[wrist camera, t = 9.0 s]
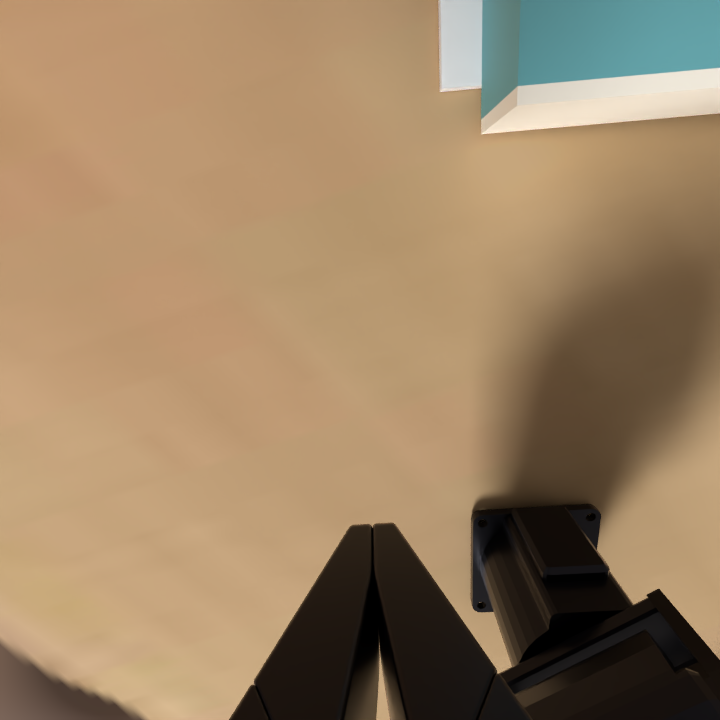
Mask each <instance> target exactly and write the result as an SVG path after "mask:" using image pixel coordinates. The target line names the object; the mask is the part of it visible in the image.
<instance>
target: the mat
mask: <svg viewBox="0 0 720 720" xmlns="http://www.w3.org/2000/svg"><path fill="white" fill-rule="evenodd" d="M438 14H439V77H440V92H445V91H456V90H467V89H478V88H482V0H438Z"/></svg>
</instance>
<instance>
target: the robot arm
mask: <svg viewBox="0 0 720 720" xmlns="http://www.w3.org/2000/svg"><path fill="white" fill-rule="evenodd" d="M590 513H591V515H589V516H587V515H588V514H590ZM482 519H484V521H483V522H479V521H480V520H482ZM600 519H601V514H600V512H599V511H598V510H597V509H596V507H595V506H593V505H591V504H581V505H564V506H546V507H529V508H512V509H494V510H480V511H476V512H475V513H474V514H473V515H472V517H471V603H472V606H473V609H474V610H475V611H477V612H494V614H495V617H496V620H497V623H498V626H499V629H500V632H501V635H502V638H503V641H504V643H505V646H506V649H507V652H508V655H509V658H510V661H511V664H512V667H511V668H509V669H507V670H505V671H503V672H501V673H499V674H497V670H496V668H495V666H494V665H493V664H492V662H491V661H490V659H489V658H488V656H487V655H486V654H485V652H484V651H483V649H482V648H481V646H480V645H479V644H478V642H477V641H476V639H475V638H474V636H473V635H472V634H471V632H470V631H469V629H468V628H467V626H466V625H465V624H464V622H463V621H462V619H461V618H460V616H459V615H458V613H457V612H456V611H455V609H454V608H453V606H452V605H451V603H450V602H449V601H448V599H447V598H446V596H445V595H444V593H443V592H442V591H441V589H440V588H439V586H438V585H437V583H436V582H435V581H434V579H433V578H432V576H431V575H430V573H429V572H428V571H427V569H426V568H425V566H424V565H423V563H422V562H421V560H420V559H419V558H418V556H417V555H416V553H415V552H414V550H413V549H412V548H411V546H410V545H409V543H408V542H407V540H406V539H405V538H404V536H403V535H402V533H401V532H400V530H399V529H398V528H397V526H396V525H395V524H394V523H377V524H374V525H373V528H372V526H371V525H370V524H360V525H352V526H350V527H349V529H348V530H347V532H346V534H345V535H344V537H343V538H342V540H341V542H340V543H339V545H338V546H337V548H336V550H335V551H334V553H333V554H332V556H331V558H330V559H329V561H328V562H327V564H326V566H325V567H324V569H323V570H322V572H321V574H320V575H319V577H318V578H317V580H316V582H315V583H314V585H313V586H312V588H311V590H310V591H309V593H308V594H307V596H306V598H305V599H304V601H303V603H302V604H301V606H300V607H299V609H298V611H297V612H296V614H295V615H294V617H293V619H292V620H291V622H290V623H289V625H288V627H287V628H286V630H285V631H284V633H283V635H282V636H281V638H280V639H279V641H278V643H277V644H276V646H275V647H274V649H273V651H272V652H271V654H270V655H269V657H268V659H267V660H266V662H265V663H264V665H263V667H262V668H261V670H260V672H259V673H258V675H257V676H256V678H255V680H254V685H251V686H250V687H249V689H248V690H247V692H246V694H245V695H244V697H243V698H242V700H241V702H240V703H239V705H238V706H237V708H236V710H235V711H234V713H233V714H232V716H231V717H230V719H229V720H376V713H377V697H378V681H379V659H380V655H381V663H382V671H383V677H384V684H385V690H386V697H387V703H388V709H389V716H390V720H720V660H719V659H718V657H717V656H716V655H715V654H714V653H713V652H712V650H711V649H710V648H709V647H708V646H707V645H706V643H705V642H704V641H703V640H702V639H701V637H700V636H699V635H698V634H697V633H696V632H695V630H694V629H693V628H692V627H691V626H690V625H689V623H688V622H687V621H686V620H685V619H684V618H683V616H682V615H681V614H680V613H679V612H678V610H677V609H676V608H675V607H674V606H673V605H672V603H671V602H670V601H669V600H668V599H667V598H666V596H665V595H664V594H663V593H662V592H661V590H660V589H657V590H655V591H653V592H651V593H649V594H647V597H648V598H646V599H644V600H642V601H640V602H638V603H636V604H634V605H633V603H632V602H631V600H630V599H629V598H628V596H627V595H626V593H625V592H624V591H623V589H622V588H621V586H620V585H619V584H618V582H617V581H616V579H615V578H614V576H613V575H612V574H611V572H610V571H609V566H608V565H607V563H606V562H605V561H604V559H603V558H602V557H601V555H600V554H599V552H598V551H597V545H598V536H599V528H600ZM479 602H481V603H479ZM379 643H380V654H379Z"/></svg>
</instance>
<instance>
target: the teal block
mask: <svg viewBox="0 0 720 720" xmlns="http://www.w3.org/2000/svg"><path fill="white" fill-rule="evenodd" d="M718 113H720V0H482V91H481V134H488V133H500V132H511V131H523V130H534V129H546V128H557V127H569V126H580V125H592V124H603V123H615V122H626V121H638V120H649V119H661V118H672V117H684V116H695V115H707V114H718Z"/></svg>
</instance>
